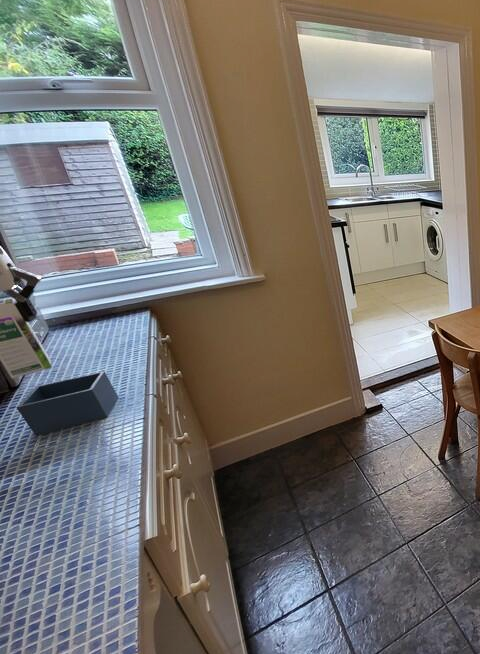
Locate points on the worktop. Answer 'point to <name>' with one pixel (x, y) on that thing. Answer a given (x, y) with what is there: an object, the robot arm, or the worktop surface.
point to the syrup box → (19, 343)
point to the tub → (68, 403)
